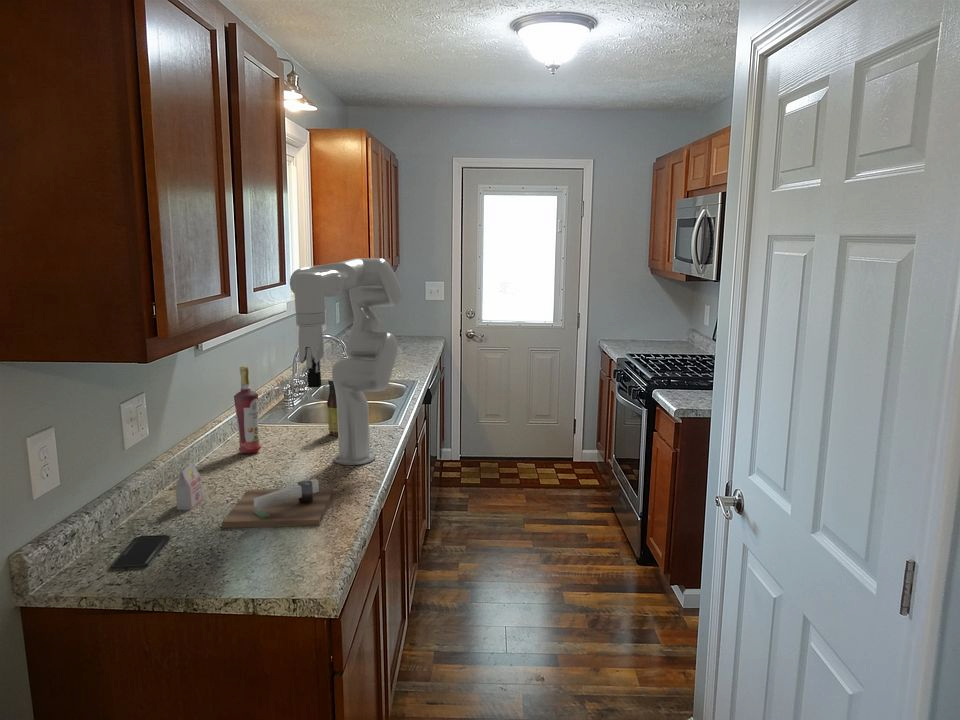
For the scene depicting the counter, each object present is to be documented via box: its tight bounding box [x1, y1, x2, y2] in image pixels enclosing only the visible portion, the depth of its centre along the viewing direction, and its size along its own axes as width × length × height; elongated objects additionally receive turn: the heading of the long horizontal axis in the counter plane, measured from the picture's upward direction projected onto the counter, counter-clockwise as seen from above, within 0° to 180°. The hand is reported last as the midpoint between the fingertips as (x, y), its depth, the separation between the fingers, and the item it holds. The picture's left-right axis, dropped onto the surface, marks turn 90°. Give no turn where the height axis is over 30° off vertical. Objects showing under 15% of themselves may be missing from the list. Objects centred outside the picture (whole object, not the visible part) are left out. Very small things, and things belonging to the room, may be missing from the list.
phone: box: [109, 534, 171, 571], centre depth 150 cm, size 8×1×15 cm
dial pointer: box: [253, 478, 320, 512], centre depth 170 cm, size 18×4×5 cm, turn 138°
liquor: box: [233, 365, 262, 455], centre depth 217 cm, size 7×7×28 cm
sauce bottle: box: [326, 378, 338, 437], centre depth 237 cm, size 7×6×20 cm
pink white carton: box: [174, 463, 204, 511], centre depth 176 cm, size 4×7×10 cm, turn 177°
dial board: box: [221, 487, 335, 529], centre depth 173 cm, size 21×23×2 cm
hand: (314, 386), depth 183 cm, fingers closed
